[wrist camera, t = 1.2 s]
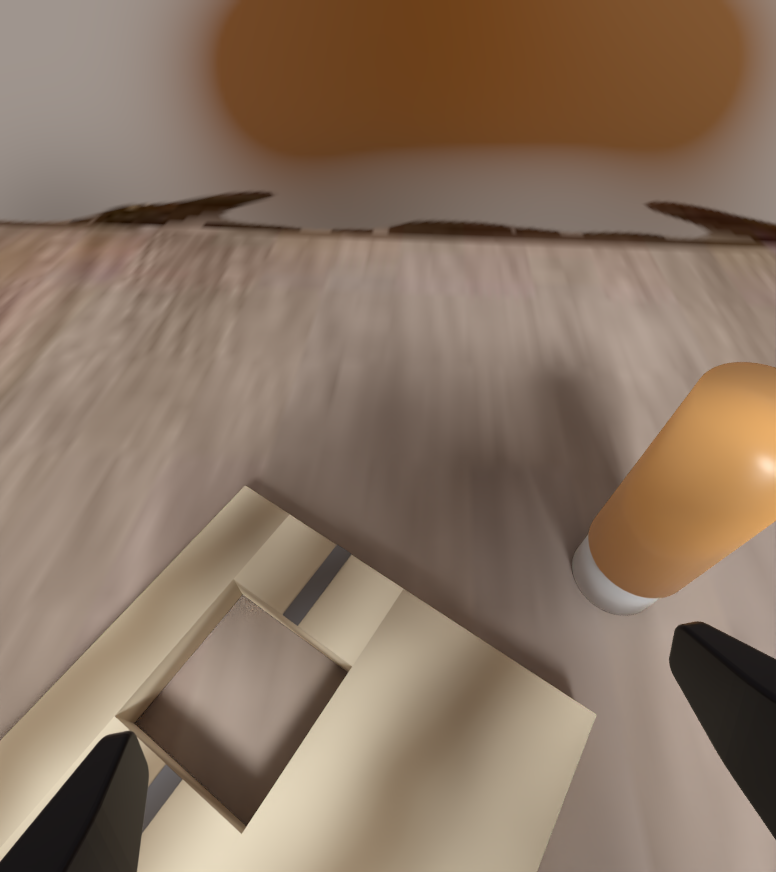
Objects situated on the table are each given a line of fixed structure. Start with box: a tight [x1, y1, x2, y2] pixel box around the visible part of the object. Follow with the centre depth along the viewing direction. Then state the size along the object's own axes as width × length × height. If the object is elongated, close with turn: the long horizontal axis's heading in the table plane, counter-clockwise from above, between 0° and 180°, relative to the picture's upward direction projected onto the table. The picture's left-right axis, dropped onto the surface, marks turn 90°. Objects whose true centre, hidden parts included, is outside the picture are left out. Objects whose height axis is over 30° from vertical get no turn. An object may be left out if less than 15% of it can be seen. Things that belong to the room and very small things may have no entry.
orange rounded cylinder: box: [572, 362, 776, 615], centre depth 20 cm, size 4×4×12 cm
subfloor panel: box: [0, 486, 596, 872], centre depth 20 cm, size 18×16×2 cm
